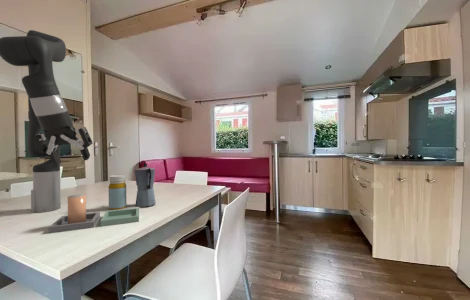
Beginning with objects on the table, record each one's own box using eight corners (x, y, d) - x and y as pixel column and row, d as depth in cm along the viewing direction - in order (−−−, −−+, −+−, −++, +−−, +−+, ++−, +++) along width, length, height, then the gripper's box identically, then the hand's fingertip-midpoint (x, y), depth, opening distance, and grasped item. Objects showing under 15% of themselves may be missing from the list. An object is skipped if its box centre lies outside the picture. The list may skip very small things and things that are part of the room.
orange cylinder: (65, 227, 72) (65, 198, 72) (70, 222, 77) (70, 194, 77) (84, 225, 74) (83, 196, 74) (87, 220, 79) (87, 193, 79)
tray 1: (49, 235, 68) (49, 227, 68) (62, 222, 79) (62, 216, 79) (93, 229, 73) (93, 221, 73) (100, 218, 84) (100, 212, 84)
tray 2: (100, 228, 73) (100, 220, 73) (105, 217, 84) (105, 211, 84) (138, 223, 78) (138, 216, 78) (139, 213, 89) (139, 207, 89)
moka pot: (150, 200, 111) (149, 162, 111) (162, 206, 100) (162, 164, 100) (130, 204, 105) (130, 163, 105) (141, 210, 93) (141, 165, 93)
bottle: (118, 211, 92) (118, 177, 92) (105, 210, 94) (104, 176, 94) (129, 207, 99) (129, 175, 99) (116, 206, 101) (116, 174, 101)
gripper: (83, 106, 67) (100, 153, 73) (34, 113, 66) (55, 161, 71) (71, 110, 60) (91, 162, 66) (15, 118, 59) (41, 170, 64)
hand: (72, 161), depth 69 cm, fingers open, 8 cm apart
